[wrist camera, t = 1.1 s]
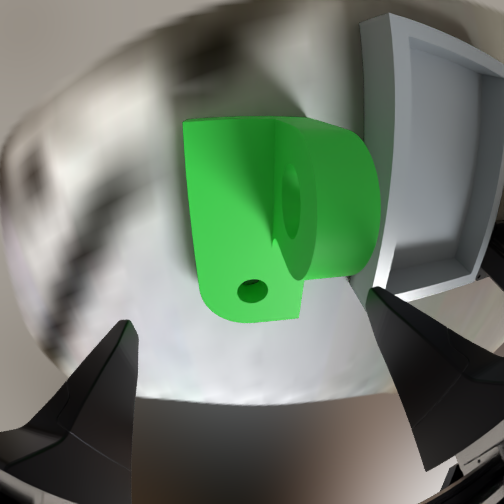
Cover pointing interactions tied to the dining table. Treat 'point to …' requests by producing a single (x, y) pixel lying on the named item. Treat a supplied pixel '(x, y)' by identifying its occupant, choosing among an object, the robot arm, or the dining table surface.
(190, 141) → the mechanical part
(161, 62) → the dining table surface
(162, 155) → the dining table surface
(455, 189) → the parts tray
